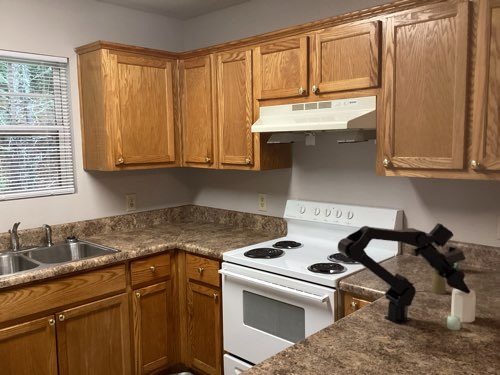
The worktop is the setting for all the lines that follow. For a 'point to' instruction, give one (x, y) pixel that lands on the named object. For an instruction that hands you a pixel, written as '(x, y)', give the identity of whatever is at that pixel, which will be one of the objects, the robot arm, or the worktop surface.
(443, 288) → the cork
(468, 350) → the worktop surface
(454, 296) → the tumbler
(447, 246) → the supplement bottle
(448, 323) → the pale green rounded knob
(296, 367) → the worktop surface
